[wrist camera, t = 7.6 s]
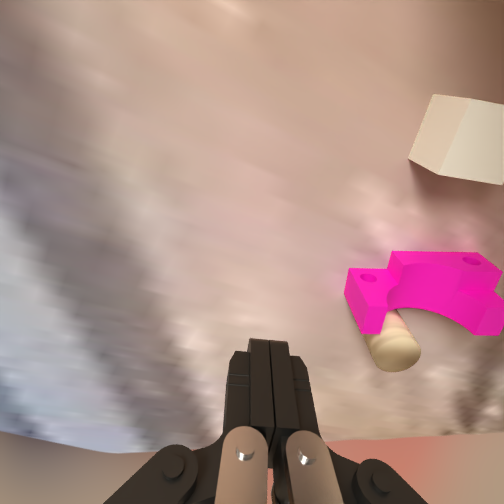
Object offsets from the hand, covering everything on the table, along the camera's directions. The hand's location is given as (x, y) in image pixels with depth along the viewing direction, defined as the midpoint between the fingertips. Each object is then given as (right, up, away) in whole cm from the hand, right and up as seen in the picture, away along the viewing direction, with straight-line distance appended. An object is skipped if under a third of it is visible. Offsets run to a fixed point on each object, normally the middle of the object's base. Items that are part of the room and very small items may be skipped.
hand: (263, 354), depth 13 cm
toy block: (+19, +2, +27) cm, 33 cm away
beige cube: (+19, +16, +19) cm, 31 cm away
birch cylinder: (+15, -3, +29) cm, 33 cm away
